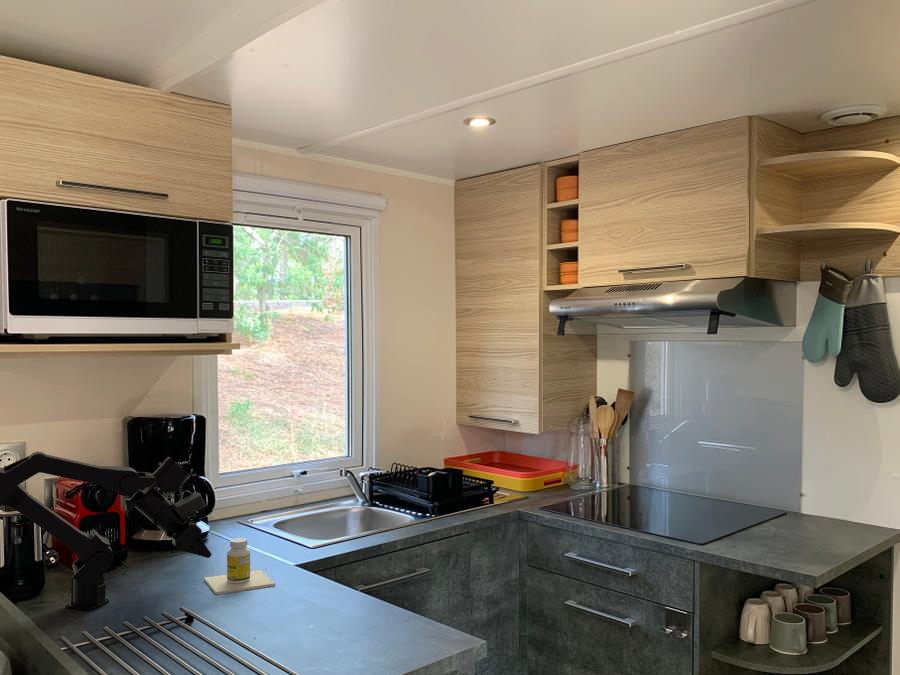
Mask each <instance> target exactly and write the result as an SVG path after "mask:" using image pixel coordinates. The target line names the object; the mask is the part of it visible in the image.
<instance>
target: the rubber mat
mask: <svg viewBox="0 0 900 675" xmlns="http://www.w3.org/2000/svg"><path fill="white" fill-rule="evenodd" d="M203 581H204V582H205V583H206V584H207V586H208V587H209V588H210V590H211V591H212V592H213V593H214V595H222V594H229V593H236V592H243V591H244V592H245V591H251V590H257V589H261V588H268V587H275V586H276V583H275V581H273V579H272V578H270V576H268V575H267V574H266V573H265V572H264V571H262V569H258V570H257V569H256V570H250V579H249V581H247V582H244V583H230V582H228V581H227V574H221V575H214V576H208V577H207V576H206V577H203Z"/></svg>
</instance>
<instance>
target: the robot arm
mask: <svg viewBox="0 0 900 675" xmlns="http://www.w3.org/2000/svg"><path fill="white" fill-rule="evenodd" d="M39 473H42V474H46V475H50V476H57V477H59V478H60V477H61V478H65V479H70V480H74V481H78V482H79V481H80V482H84V483H89V484H93V485H97V486H99V487H101V488H103V489H106V490H107V491H110V492H113V493H115V494H118V495H120V496H123V497H130V498H124V499H123V500H124V510H125V512H126V513H130V512H131V511H132V510H133V509H134V508H136V509H137V511H139V512H140V513H141V514H143V516H145V517H146V518H147V519H148V520H149V521H150V522H151V523H152V524H153V525H154V526H155V527H157V528H158V529H160V531H161V532H163V533H164V534H165V536H167V537H168V538H169V539H170V538H171V540H172V541H171V543H172V544H173V545H174V546H175V548H176V549H177V550H178V551H180V552H182V553H189V554H192V555H196V556H199V557H202V558H207V559H210V557H212V555H213V554H212V552H211V551H210V550H209V548H208V547H207V546H206V544H205V543H204V541H203V540H202V534H203V530H202V529H201V527H199V525H198V524H196V523H195V522H194V521H191V518H190V517H189V516H190V515H192V514H194V513H196V512H198V511H199V510H203V509H204V508H206V503H205V501H204V499H203V497H202V495H201V493H200V492H198V491H194V492H193V493H192V492H191V491H189V490H187V489H186V490H184V491H182V492H181V496H180V499H179V500H178V501H177V502H175V503H174V502H173V501H172V500H169V499H167V498H166V497H165V496H164V495H163V494H162V493H161V492H160V491H158V490H157V489H156V488H155V487H157V488H159V489H160V490H161V491H162V492H163V493H164V494H165V495H168V494H170V495H171V493H172V494H175V492H177V491H178V489H179V488H180V487H182V485H183V484H185V483H186V481H187V480H188V479H190V477H191V476H192V475H191V474H190V473H189V472H188V471H187V470H186V469H185V468H184V467H183V466H181V465H180V463H179V464H178V463H177V462H176V461H175V460H174V459H172V458H171V457H170V456H167V457H166V458H165V459H164V461H163V462H162V463H161V464H160V465H159V467H157V468H156V469H155V470H154V471H153V472H152V473H151V472H147V471H146V472H144V471H136V470H135V469H134V468H132V467H129V466H121V465H118V466H117V465H108V466H107V465H105V466H104V465H103V466H102V465H97V464H91V463H87V462H83V461H78V460H74V459H69V458H64V457H59V456H55V455H52V454H51V455H50V454H47V453H44V452H43V451H35V452H32V453H30V455H28V456H26V457H23V458H21V459H19V460H17V461H14V462H12V463H10V464H8V465H5V466H4V467H0V505H1V506H4V507H6V508H10V509H12V510H14V511H16V512H18V513H19V514H21V515H23V516H24V517H25V518H27V519H28V520H30V522H33V523H34V524H35V525H37V526H38V527H39V528H41V529H42V530H44V531H45V532H47V533H48V534H49V535H51V536H52V537H53V538H55V539H57V540H58V541H60V543H62V544H64V545H66V546H67V547H68V548H69V549H70V550H71V551H72V553H74V555H75V556H76V557H77V559H76V560H74V562H73V563H72V569H73V573H74V575H73V576H71V579H70V581H71V586H70V587H71V590H70V594H71V595H70V602H68V603H65V605H64V606H65V608H69V609H75V610H80V611H81V610H82V611H90V610H94V609H95V608H98V607H100V606H103V605H105V604H107V603H109V602H110V599H109V598H106V586H107V585H106V584H107V583H105V578H106V576H105V573H106V570H108V569H110V567H112V564H114V559H115V554H114V552H113V550H112V547H111V543H110V541H109V539H108V537H104V536H102V535H100V534H99V533H98V532H97V531H96V530H95V529H94V528H92V529H91V531H90V533H87V532H86V531H82V530H81V529H78V527H77V526H74V525H73V524H71V522H69V521H67V520H66V519H65V518H63V517H62V516H60V514H58V513H56V512H55V511H53V510H52V509H50V508H49V507H48V506H47V505H46V504H45V503H43V502H41V501H40V500H38V499H37V498H36V497H34V496H33V495H31V494H30V493H29V492H28V491H27V490H26V489H25V487H24V486H23V485H22V483H24V482H26V481H28V480H29V479H31V478H32V477H34V476H36V475H38V474H39Z"/></svg>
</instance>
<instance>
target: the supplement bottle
mask: <svg viewBox="0 0 900 675" xmlns="http://www.w3.org/2000/svg"><path fill="white" fill-rule="evenodd" d="M229 542H230V543H229V545H230V548H229V549H228V550H227V553H226V560H227V561H226V564H227V566H226V575H227V581H228V582H230V583H244V582H247V581H249V579H250V571H251V549H250V548H248V547H247V546H248V539H247V538H244V537H236V538H232V539H230V541H229Z"/></svg>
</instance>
